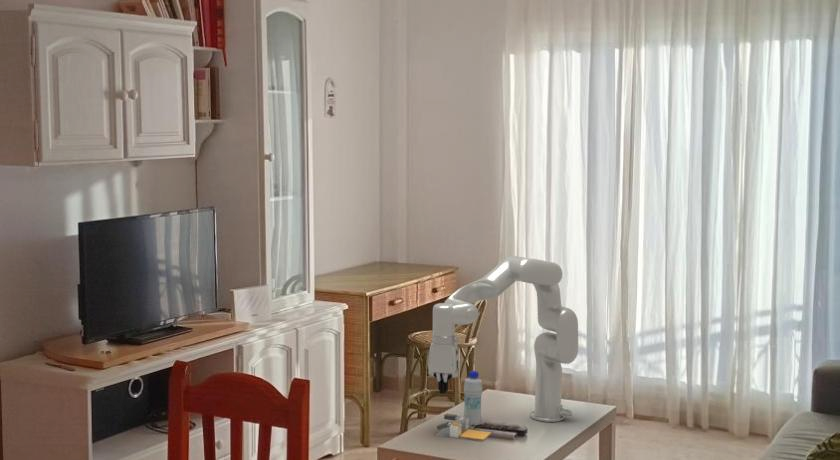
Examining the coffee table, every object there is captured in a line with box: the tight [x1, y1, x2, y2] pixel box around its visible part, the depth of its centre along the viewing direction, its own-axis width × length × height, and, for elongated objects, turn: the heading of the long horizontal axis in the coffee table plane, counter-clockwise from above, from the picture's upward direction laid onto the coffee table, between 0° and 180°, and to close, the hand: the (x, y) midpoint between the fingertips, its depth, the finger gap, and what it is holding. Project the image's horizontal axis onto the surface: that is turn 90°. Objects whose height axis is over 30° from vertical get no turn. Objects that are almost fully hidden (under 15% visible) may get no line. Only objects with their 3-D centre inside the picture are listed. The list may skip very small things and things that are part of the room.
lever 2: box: [443, 413, 461, 421], centre depth 359 cm, size 5×3×1 cm, turn 69°
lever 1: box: [436, 421, 453, 431], centre depth 352 cm, size 5×3×1 cm, turn 69°
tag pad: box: [460, 429, 492, 441], centre depth 353 cm, size 8×8×1 cm
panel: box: [434, 416, 493, 443], centre depth 354 cm, size 17×13×6 cm
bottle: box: [463, 370, 483, 427], centre depth 366 cm, size 7×7×20 cm
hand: (443, 392), depth 352 cm, fingers closed
